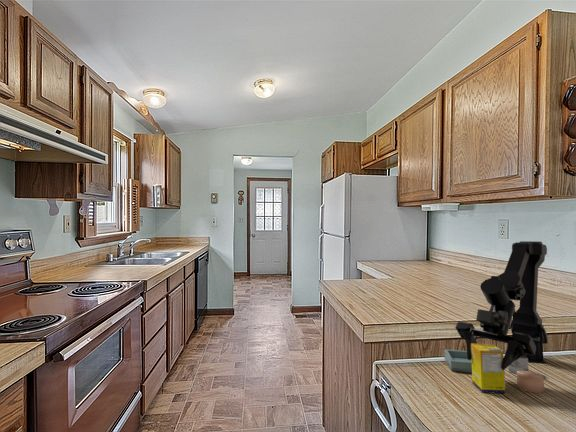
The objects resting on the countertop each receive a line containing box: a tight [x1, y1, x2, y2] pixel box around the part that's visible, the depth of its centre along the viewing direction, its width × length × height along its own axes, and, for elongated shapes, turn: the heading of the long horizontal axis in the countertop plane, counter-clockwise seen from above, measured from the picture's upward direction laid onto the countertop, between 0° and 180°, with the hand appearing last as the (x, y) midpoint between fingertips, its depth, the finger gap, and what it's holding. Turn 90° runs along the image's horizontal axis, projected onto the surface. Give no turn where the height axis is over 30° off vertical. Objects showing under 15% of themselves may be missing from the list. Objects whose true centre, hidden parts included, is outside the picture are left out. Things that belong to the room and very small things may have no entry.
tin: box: [507, 356, 530, 376], centre depth 101 cm, size 5×5×4 cm
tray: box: [444, 348, 472, 373], centre depth 105 cm, size 11×11×3 cm
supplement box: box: [471, 343, 506, 394], centre depth 90 cm, size 6×6×11 cm
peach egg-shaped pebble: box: [516, 370, 545, 394], centre depth 90 cm, size 6×6×4 cm
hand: (484, 364), depth 90 cm, fingers closed on supplement box, 8 cm apart
